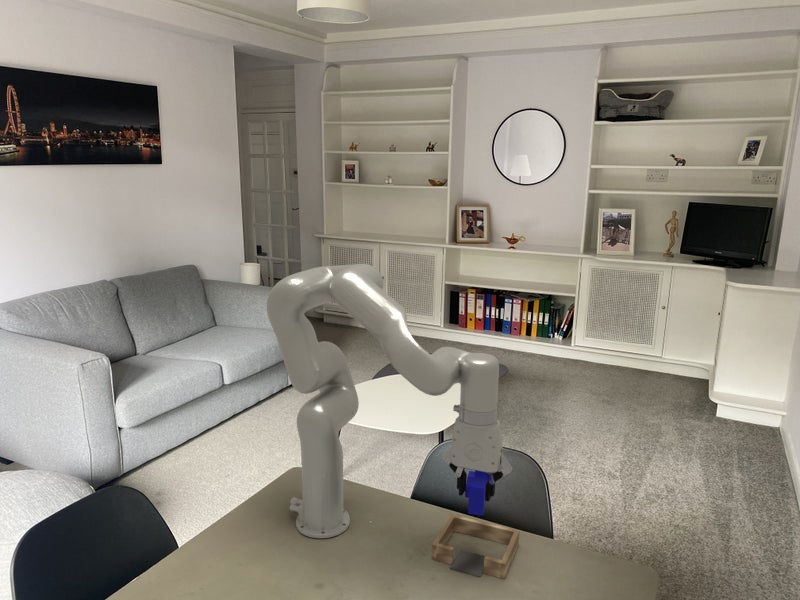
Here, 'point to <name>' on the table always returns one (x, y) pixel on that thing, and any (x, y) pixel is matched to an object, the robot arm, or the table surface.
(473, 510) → the blue stepped block
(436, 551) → the walled box
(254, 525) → the table surface
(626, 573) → the table surface
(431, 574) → the table surface
